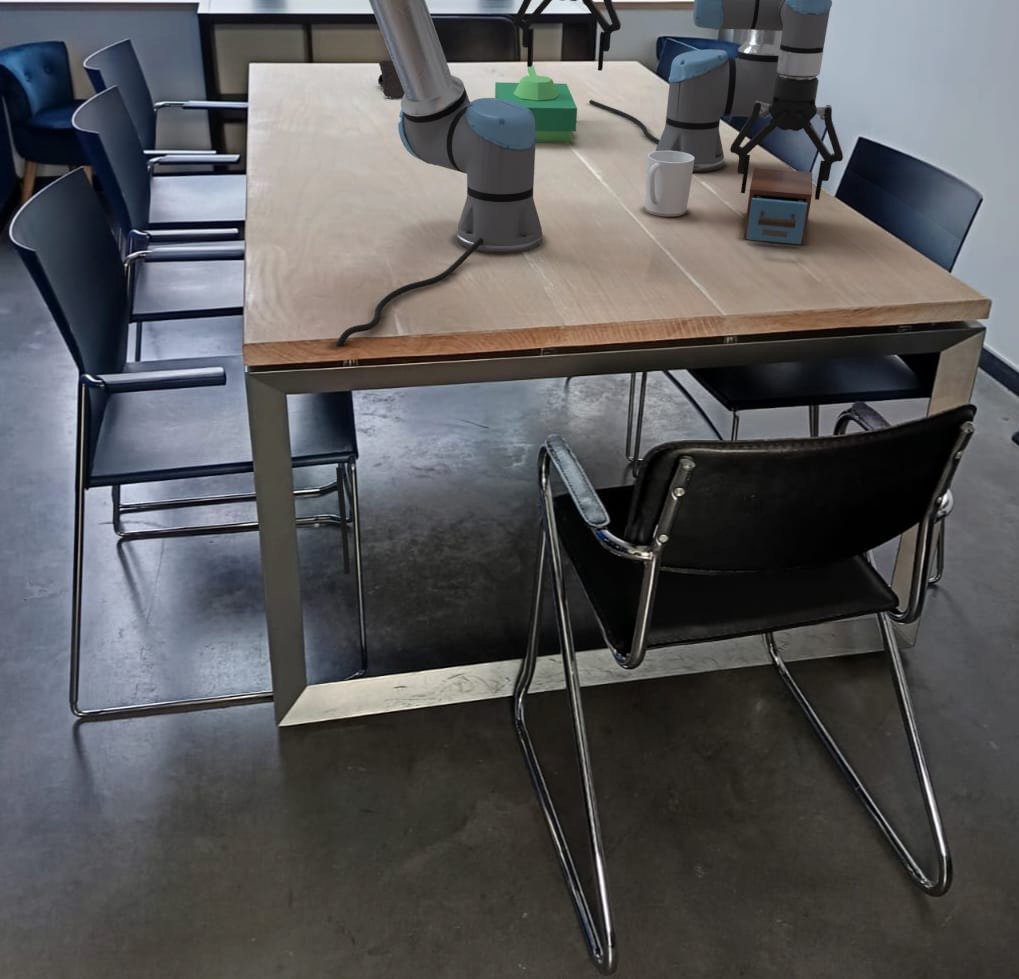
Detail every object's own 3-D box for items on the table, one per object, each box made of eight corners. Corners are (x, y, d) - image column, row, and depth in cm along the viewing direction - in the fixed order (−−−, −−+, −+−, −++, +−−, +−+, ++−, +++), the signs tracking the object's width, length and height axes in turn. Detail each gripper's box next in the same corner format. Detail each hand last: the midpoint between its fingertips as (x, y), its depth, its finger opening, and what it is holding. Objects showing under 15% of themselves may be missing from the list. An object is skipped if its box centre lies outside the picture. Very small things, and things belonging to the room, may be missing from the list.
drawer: (800, 254, 190) (807, 213, 186) (744, 248, 192) (750, 208, 188) (801, 221, 206) (808, 182, 202) (750, 216, 208) (755, 178, 204)
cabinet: (803, 244, 197) (812, 194, 193) (743, 238, 199) (749, 189, 195) (804, 219, 210) (812, 172, 205) (747, 214, 212) (754, 167, 207)
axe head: (443, 87, 294) (392, 77, 287) (436, 115, 299) (385, 106, 292) (421, 62, 307) (371, 52, 300) (414, 89, 311) (365, 80, 304)
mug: (658, 200, 218) (663, 148, 212) (697, 210, 213) (703, 156, 208) (627, 213, 210) (631, 159, 205) (667, 223, 206) (672, 168, 200)
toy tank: (564, 61, 276) (578, 91, 246) (561, 111, 283) (575, 146, 253) (494, 60, 275) (499, 89, 245) (493, 110, 282) (498, 145, 252)
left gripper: (640, -55, 201) (630, 67, 212) (506, -60, 204) (503, 60, 215) (638, -51, 195) (629, 74, 206) (500, -57, 198) (498, 67, 209)
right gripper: (869, 76, 195) (847, 194, 206) (728, 67, 200) (714, 183, 211) (871, 84, 189) (848, 206, 200) (725, 74, 193) (711, 194, 204)
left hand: (564, 67), depth 211 cm, fingers open, 13 cm apart
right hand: (779, 194), depth 205 cm, fingers open, 13 cm apart
